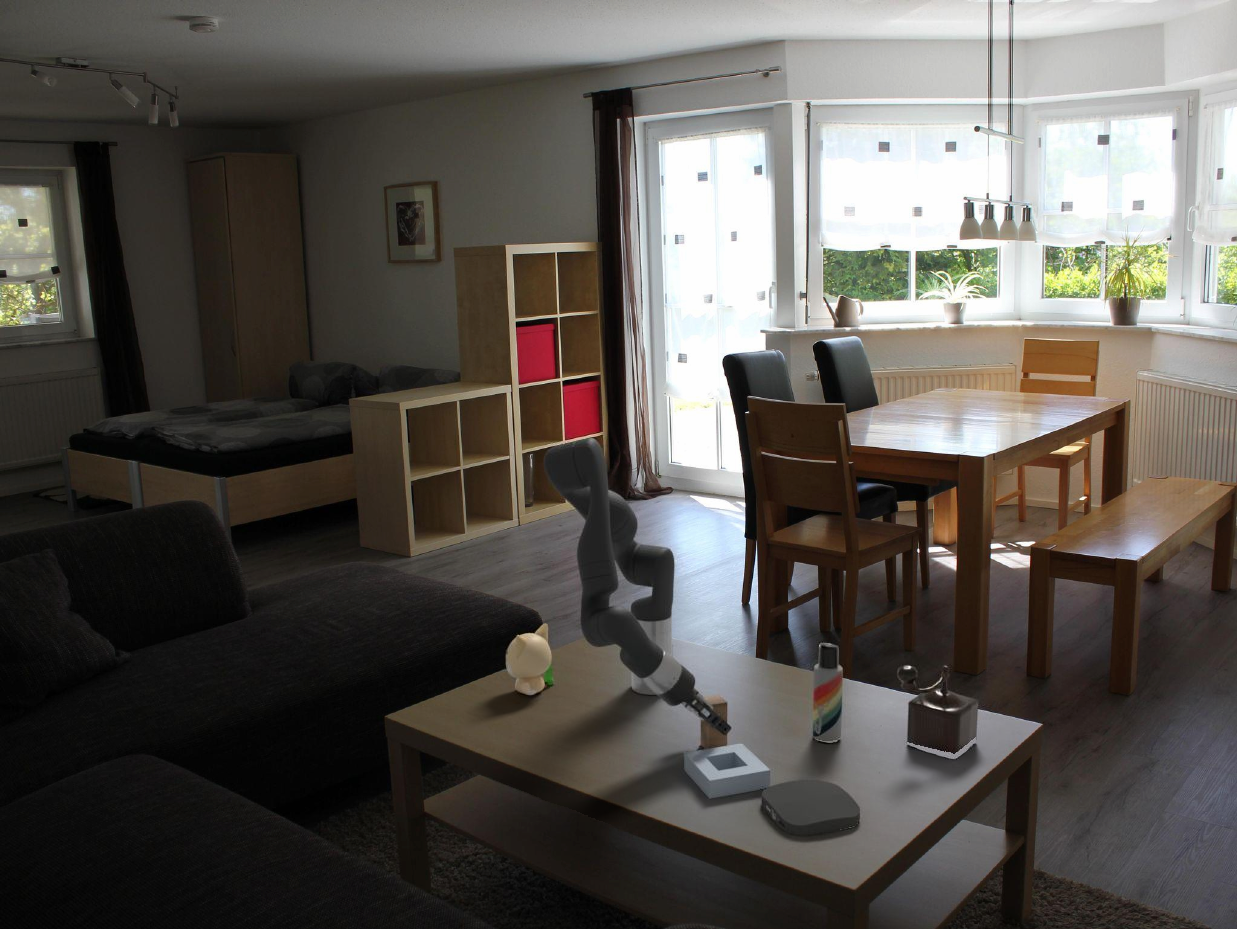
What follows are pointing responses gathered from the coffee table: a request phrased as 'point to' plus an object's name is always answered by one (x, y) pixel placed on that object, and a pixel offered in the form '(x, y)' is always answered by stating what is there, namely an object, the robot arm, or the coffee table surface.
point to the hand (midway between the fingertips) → (722, 726)
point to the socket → (726, 770)
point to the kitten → (530, 661)
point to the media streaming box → (810, 807)
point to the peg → (708, 733)
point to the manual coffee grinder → (938, 714)
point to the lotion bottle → (827, 694)
